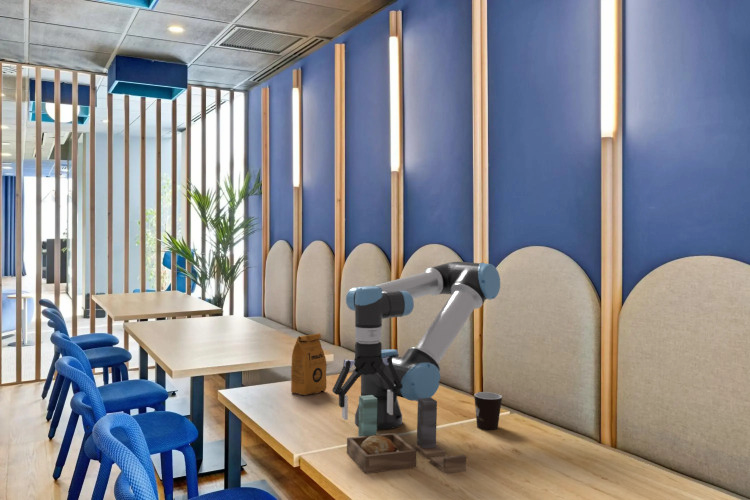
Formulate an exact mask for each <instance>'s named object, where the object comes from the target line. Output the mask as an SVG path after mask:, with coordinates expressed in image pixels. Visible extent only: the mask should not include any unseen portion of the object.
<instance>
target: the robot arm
mask: <svg viewBox="0 0 750 500" xmlns="http://www.w3.org/2000/svg"><path fill="white" fill-rule="evenodd" d="M500 290H501V278H500V274H499V271H498V269H497V268H496V266H494V265H493V264H492V263H485V262H467V261H466V262H465V261H451V262H446V263H443V264H440V265H436V266H433V267H428V268H426V269H425V270H424V271H423V272H421V273H417V274H413V275H409V276H405V277H401V278H397V279H395V280H394V279H393V280H390V281H387V282H382V283H378V284H376V285H375V284H374V285H364V286H358V287H351V288H350V289H349V290H348V292H347V294H346V295H345V296H346V297H345V302H346V306H347V308H348V309H349V310H351V311H353V312H354V317H355V318H354V322H355V323H354V324H355V325H354V326H355V328H354V330H355V331H354V340H355V341H356V342H355V343H354V359H353V360H352V359H347V358H345V359H343V366H342V368H341V371H340V373H339V376H338V377H337V380H336V382H335V384H334V386H333V388H332V393H333V394H334V395H338V406H339V407H340V408H341V417H342V419H344V420H345V421H347V420H349V419H348V417H349V414H348V413H349V411H348V408H349V407H348V406H349V404H348V403H349V399H348V398H349V397H348V395H346V394H347V393H348V392H349V391H350V389H351V388H352V387H353V385H354V384H355V382H356V381H357V380H358V378H360V396H367V395H373V396H374V397H376V398H377V430H381V431H382V430H390V429H391V430H392V429H396V428H398V427H400V426H402V425H403V413H402V411H401V407H400V404H399V399H398V397H399V398H402V399H406V400H408V401H414V402H418V399H419V398H432V397H433V396H434V395H436V393H437V391H438V389H439V387H440V381H441V372H440V371H441V366H440V362H441V361H442V359H443V357H444V356H445V354H446V352H447V351H448V350H449V348H450V346H451V345H452V343H453V342H454V340H455V339H456V338H457V336H458V335H459V333H460V331H461V330H462V328H463V327H464V325H465V324H466V322H467V321H468V319H469V317H470V316H471V314H472V313H473V311H474V310H475V309H476V310H478V309H480V308H481V307H482V306H483V304H484V303H485V302H486V300H494V299H496V297H497V296H498V295H499V293H500ZM428 295H430V296H439V295H450V297H449V298H448V299H447V301H446V302H445V304H444V305H443V307H442V308H441V309H440V311H439V313H438V314H437V315H436V317H434V320H433V321H432V322H431V324H430V326H429V327H428V328H427V330H426V331H425V333H424V334H423V336H422V338H421V339H420V340H419V342H418V343H417V344H416V346H413V347H412V346H411V347H409V348H407V350H406V352H405V353H404V355H403V356H399V351H398V350H397V349H392V348H391V349H388V348H387V349H383V348H382V345H383V343H382V342H381V340H382V336H383V335H382V331H383V329H382V327H383V320H384V319H391V318H402V317H404V316H408V315H410V314H411V313H412V312H413V310H414V303H415V302H414V299H418V298H421V297H424V296H428ZM353 366H354V367H355V369H354V370H352V373H351V374H350V376H349V377H348V378H347V376H348V375H349V372H350V370H351V369H352V368H353ZM346 379H347V380H346ZM354 423H355V425H357V426H358V427H359V404H358V405H357V407H356V411H355V413H354Z"/></svg>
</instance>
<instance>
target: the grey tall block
mask: <svg viewBox="0 0 750 500" xmlns="http://www.w3.org/2000/svg"><path fill="white" fill-rule="evenodd" d="M437 412H438V401H437V400H436V399H434V398H432V397H431V398H419V399H418V401H417V422H416V428H417V429H416V443H413V446H412V448H414V449H415V450H416V451H417V453H418V454H420V455H421V456H422V457H423V458H424V459H430V458H434V457H441V456H447V455H446V454H447V452H446V451H447V450H444V449H443V448H442V447H441V446H440V445H438V444H437V415H438V413H437Z"/></svg>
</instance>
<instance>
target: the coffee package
mask: <svg viewBox="0 0 750 500" xmlns="http://www.w3.org/2000/svg"><path fill="white" fill-rule="evenodd" d="M321 338H322V335H321V333H319V332H318V333H313V334H308V335H307V334H306V335H300V336H299V335H298V336H297V339H296V341H295V344H294V346H293V349H292V354H291V368H290V369H291V370H290V371H291V373H290V375H291V379H290V381H291V387H290V388H291V389H290V392H291V393H292V394H297V393H298V394H299V395H301V396H307V395H308V394H309V395H313V394H312V393H314V394H319V393H322V392H321V391H324V392H325V391H326V390H327V358H326V356H325V352H324V349H323V348H322V343H321V340H320V339H321ZM318 392H319V393H318Z"/></svg>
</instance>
